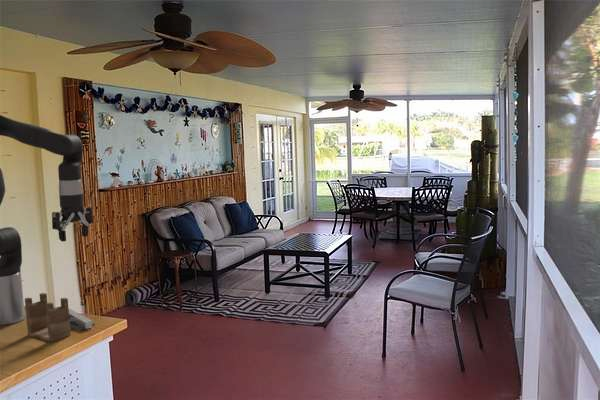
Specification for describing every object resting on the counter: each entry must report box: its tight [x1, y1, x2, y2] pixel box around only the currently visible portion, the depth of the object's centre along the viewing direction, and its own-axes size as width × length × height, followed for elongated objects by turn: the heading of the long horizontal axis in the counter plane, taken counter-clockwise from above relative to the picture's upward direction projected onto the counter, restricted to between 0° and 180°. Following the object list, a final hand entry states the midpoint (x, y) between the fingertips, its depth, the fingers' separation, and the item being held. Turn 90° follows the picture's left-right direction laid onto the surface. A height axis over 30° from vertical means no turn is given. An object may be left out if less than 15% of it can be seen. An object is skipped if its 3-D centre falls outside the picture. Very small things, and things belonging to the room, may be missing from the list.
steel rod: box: [69, 308, 93, 330], centre depth 174 cm, size 14×2×2 cm, turn 54°
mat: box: [70, 321, 96, 332], centre depth 174 cm, size 10×6×1 cm, turn 61°
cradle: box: [24, 292, 72, 343], centre depth 165 cm, size 13×6×12 cm, turn 61°
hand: (74, 238), depth 176 cm, fingers open, 8 cm apart
